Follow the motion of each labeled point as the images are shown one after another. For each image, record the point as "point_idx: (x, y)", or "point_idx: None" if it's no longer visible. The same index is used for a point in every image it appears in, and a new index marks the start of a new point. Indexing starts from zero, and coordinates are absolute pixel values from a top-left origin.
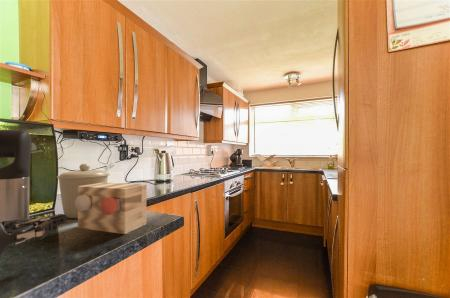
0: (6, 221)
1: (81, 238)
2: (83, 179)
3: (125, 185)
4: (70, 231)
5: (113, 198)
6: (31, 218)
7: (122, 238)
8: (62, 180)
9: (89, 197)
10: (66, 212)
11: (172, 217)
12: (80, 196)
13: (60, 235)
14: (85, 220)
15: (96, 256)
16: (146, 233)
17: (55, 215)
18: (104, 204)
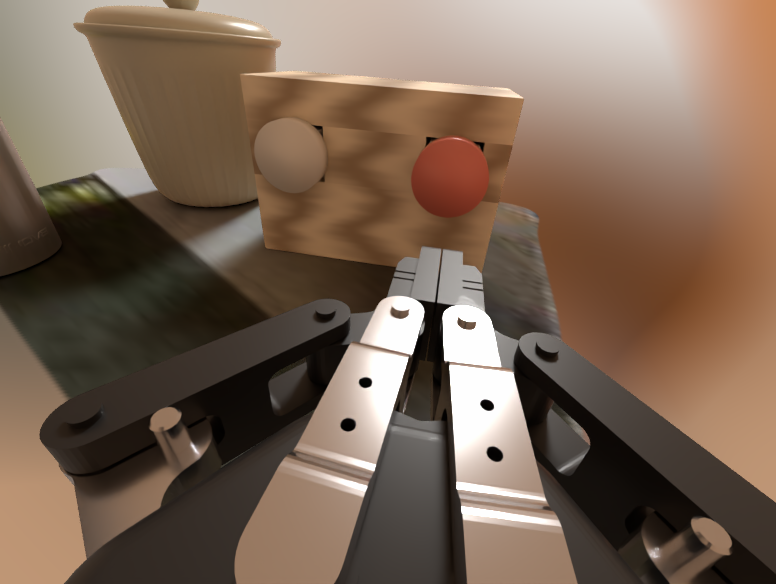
0: (107, 394)
1: (348, 303)
2: (215, 47)
3: (445, 86)
4: (258, 266)
5: (474, 143)
6: (317, 318)
7: (501, 301)
8: (117, 44)
9: (318, 133)
10: (172, 186)
11: (510, 209)
12: (281, 125)
13: (242, 287)
14: (298, 225)
15: (562, 418)
16: (543, 275)
17: (429, 266)
18: (435, 170)
